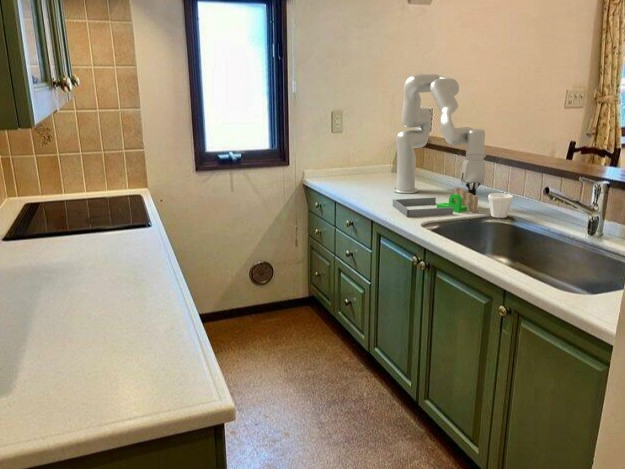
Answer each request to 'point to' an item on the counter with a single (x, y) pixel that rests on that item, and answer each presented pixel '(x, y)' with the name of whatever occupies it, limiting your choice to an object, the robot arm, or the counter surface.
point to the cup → (499, 204)
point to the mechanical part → (454, 204)
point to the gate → (467, 199)
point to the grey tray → (401, 204)
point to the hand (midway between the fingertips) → (471, 197)
